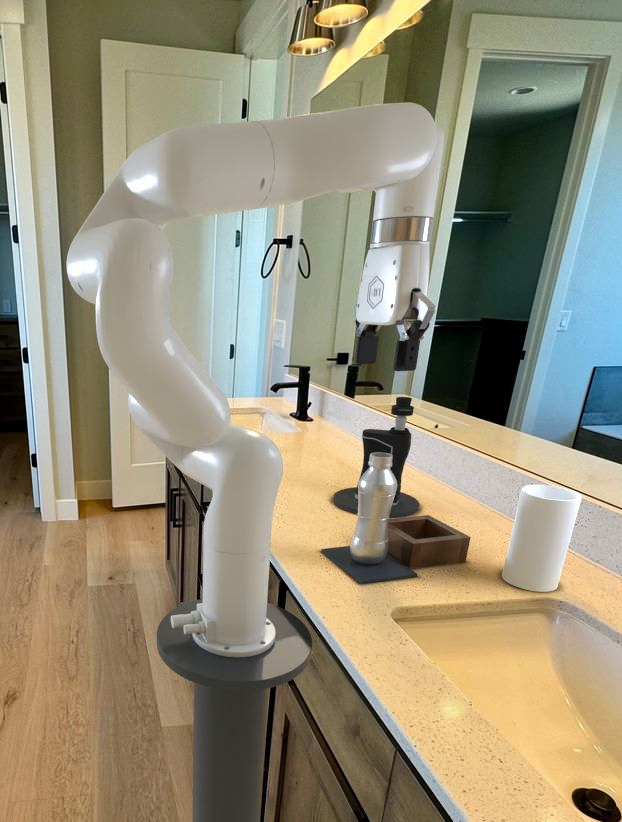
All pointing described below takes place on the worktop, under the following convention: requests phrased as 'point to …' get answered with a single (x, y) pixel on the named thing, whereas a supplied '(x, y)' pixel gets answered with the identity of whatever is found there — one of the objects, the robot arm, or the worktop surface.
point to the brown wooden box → (425, 542)
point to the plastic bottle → (374, 510)
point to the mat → (368, 567)
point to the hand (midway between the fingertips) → (383, 366)
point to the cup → (540, 537)
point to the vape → (398, 447)
